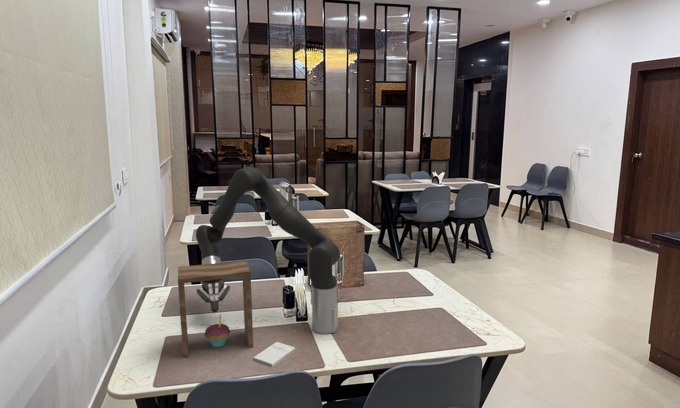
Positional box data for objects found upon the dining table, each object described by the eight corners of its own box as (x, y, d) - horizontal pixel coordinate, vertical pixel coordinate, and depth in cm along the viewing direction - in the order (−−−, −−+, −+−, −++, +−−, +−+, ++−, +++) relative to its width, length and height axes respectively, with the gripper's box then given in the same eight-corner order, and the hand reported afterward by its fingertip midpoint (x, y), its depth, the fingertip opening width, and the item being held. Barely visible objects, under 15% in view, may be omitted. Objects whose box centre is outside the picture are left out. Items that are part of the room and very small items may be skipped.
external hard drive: (252, 361, 144) (276, 345, 155) (272, 368, 140) (295, 351, 151) (252, 357, 144) (276, 341, 155) (272, 364, 140) (295, 347, 151)
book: (312, 291, 203) (311, 228, 197) (307, 285, 211) (306, 224, 206) (363, 285, 210) (364, 224, 205) (357, 279, 219) (357, 220, 214)
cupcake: (235, 341, 157) (234, 309, 154) (219, 352, 149) (217, 319, 147) (216, 336, 160) (214, 305, 158) (200, 347, 153) (198, 314, 150)
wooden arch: (183, 340, 157) (178, 266, 152) (248, 331, 164) (245, 260, 159) (183, 358, 145) (177, 279, 140) (253, 347, 152) (250, 271, 147)
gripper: (194, 267, 169) (196, 310, 160) (229, 264, 173) (233, 305, 164) (194, 276, 175) (196, 317, 166) (228, 272, 179) (232, 313, 170)
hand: (215, 311), depth 165 cm, fingers closed
